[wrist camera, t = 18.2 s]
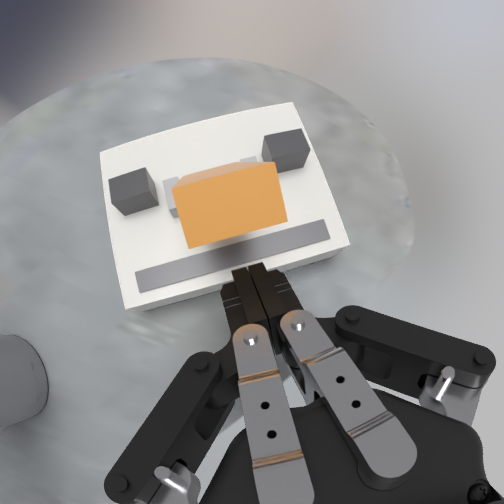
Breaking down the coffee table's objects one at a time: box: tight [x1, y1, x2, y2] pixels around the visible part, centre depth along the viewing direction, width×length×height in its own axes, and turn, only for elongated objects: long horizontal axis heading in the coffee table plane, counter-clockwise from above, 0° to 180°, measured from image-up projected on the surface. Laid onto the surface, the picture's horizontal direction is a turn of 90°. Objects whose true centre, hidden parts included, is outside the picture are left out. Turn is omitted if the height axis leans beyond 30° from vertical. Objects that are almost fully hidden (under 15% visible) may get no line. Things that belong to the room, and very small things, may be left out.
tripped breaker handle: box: [171, 162, 288, 249], centre depth 18 cm, size 4×2×13 cm, turn 107°
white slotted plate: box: [100, 102, 350, 311], centre depth 26 cm, size 18×14×8 cm
